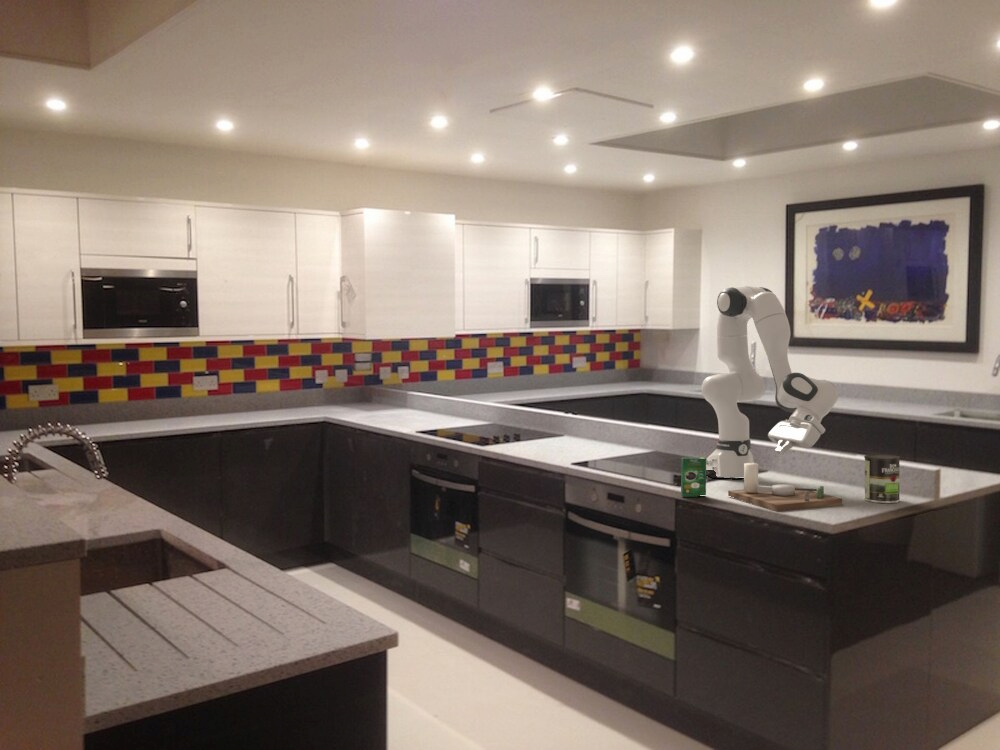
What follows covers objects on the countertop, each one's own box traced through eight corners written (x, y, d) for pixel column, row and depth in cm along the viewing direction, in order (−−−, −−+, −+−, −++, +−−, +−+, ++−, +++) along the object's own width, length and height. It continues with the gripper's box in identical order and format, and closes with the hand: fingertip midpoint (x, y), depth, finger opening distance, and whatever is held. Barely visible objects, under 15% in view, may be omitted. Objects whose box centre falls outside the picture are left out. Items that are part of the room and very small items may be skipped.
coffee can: (907, 502, 267) (907, 457, 267) (879, 504, 265) (879, 459, 264) (884, 496, 277) (883, 453, 277) (857, 498, 274) (857, 455, 274)
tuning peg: (742, 493, 275) (742, 465, 275) (745, 489, 282) (745, 462, 281) (816, 497, 266) (815, 468, 266) (817, 493, 273) (817, 464, 272)
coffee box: (705, 495, 285) (704, 456, 285) (706, 497, 283) (706, 457, 282) (680, 496, 286) (680, 457, 285) (682, 497, 283) (681, 458, 282)
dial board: (728, 496, 282) (728, 481, 282) (789, 491, 290) (789, 476, 290) (776, 511, 258) (776, 495, 258) (842, 505, 265) (842, 489, 265)
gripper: (778, 413, 295) (754, 442, 293) (817, 418, 276) (792, 450, 273) (789, 425, 297) (765, 454, 294) (829, 431, 277) (803, 463, 275)
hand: (778, 452), depth 284 cm, fingers closed
